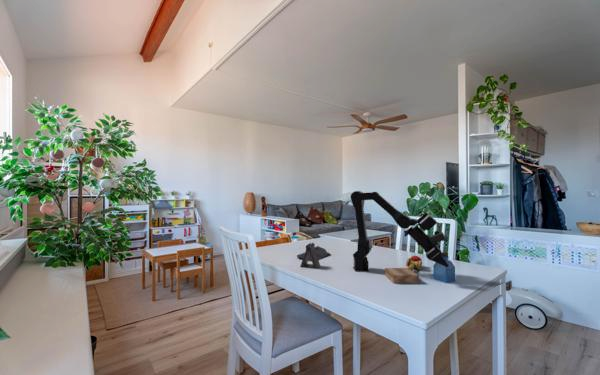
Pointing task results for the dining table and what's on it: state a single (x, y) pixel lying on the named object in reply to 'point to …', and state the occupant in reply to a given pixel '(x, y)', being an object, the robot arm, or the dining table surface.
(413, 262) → the kendama
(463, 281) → the dining table surface
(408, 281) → the walnut plinth
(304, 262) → the phone stand
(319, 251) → the stegosaurus figurine
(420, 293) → the dining table surface
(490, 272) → the dining table surface
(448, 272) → the perfume bottle
